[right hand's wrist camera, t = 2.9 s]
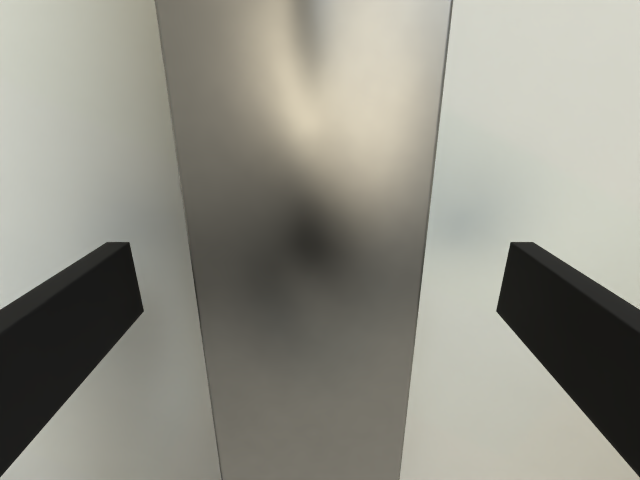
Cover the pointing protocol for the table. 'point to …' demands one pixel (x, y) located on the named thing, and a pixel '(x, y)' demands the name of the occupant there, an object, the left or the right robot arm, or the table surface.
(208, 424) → the table surface
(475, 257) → the table surface
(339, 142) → the bar
